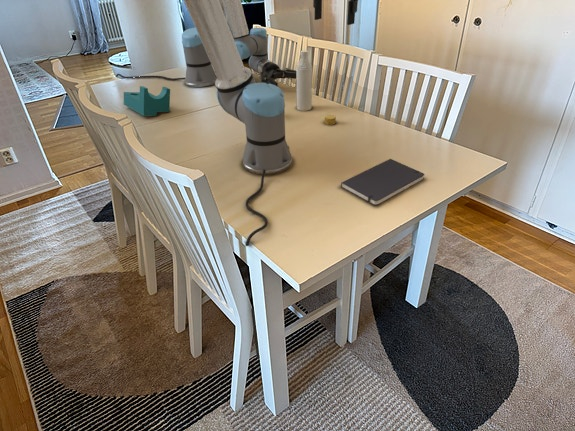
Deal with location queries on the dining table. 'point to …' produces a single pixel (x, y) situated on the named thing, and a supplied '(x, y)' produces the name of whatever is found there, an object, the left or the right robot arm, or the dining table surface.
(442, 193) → the dining table surface
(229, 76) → the right robot arm
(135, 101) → the teal notched cradle block
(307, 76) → the bottle
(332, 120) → the cap
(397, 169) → the notebook
